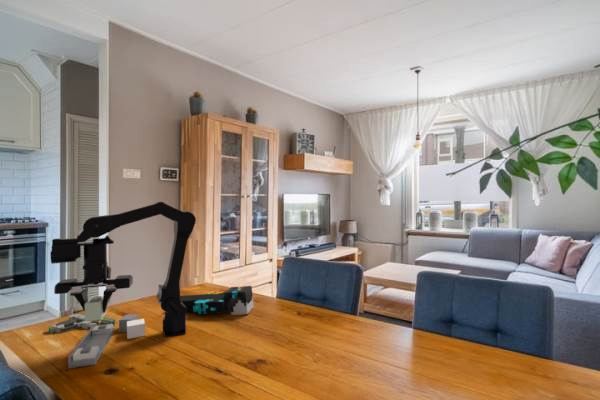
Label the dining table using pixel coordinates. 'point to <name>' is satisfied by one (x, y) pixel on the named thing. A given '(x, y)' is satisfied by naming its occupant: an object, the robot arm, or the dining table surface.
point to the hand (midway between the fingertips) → (96, 313)
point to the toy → (221, 301)
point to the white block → (124, 321)
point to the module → (94, 309)
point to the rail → (91, 346)
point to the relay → (135, 328)
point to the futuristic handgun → (78, 323)
